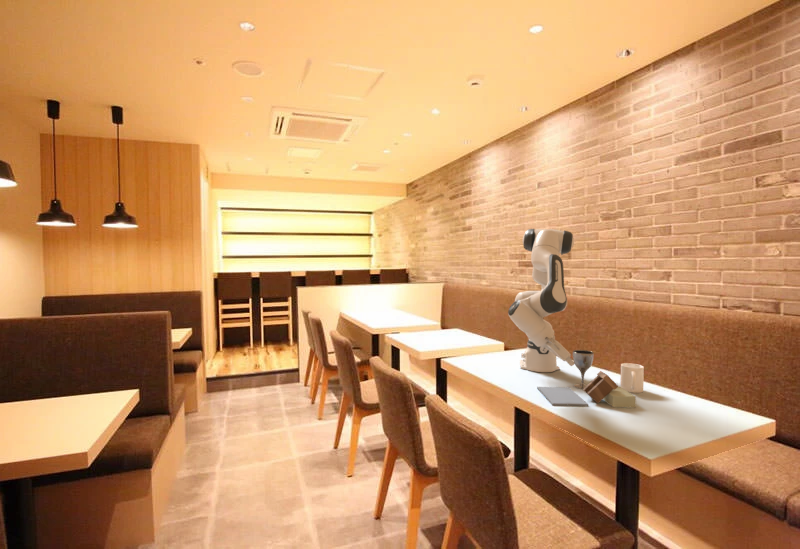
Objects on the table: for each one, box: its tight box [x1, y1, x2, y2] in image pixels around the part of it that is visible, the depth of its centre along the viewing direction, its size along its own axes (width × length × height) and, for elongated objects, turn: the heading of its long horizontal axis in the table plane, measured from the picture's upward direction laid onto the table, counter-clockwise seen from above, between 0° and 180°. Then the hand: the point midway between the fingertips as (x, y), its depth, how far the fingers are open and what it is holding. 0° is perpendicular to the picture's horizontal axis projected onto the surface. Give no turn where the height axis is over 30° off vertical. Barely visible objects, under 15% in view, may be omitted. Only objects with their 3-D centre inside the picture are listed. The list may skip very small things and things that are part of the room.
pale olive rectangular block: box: [602, 386, 637, 408], centre depth 154 cm, size 12×8×4 cm, turn 176°
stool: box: [582, 370, 619, 404], centre depth 154 cm, size 6×11×11 cm, turn 86°
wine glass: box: [572, 349, 594, 390], centre depth 172 cm, size 8×8×15 cm
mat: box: [537, 386, 589, 407], centre depth 159 cm, size 20×13×1 cm, turn 176°
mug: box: [619, 362, 645, 394], centre depth 166 cm, size 12×8×10 cm
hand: (568, 361), depth 155 cm, fingers open, 8 cm apart
